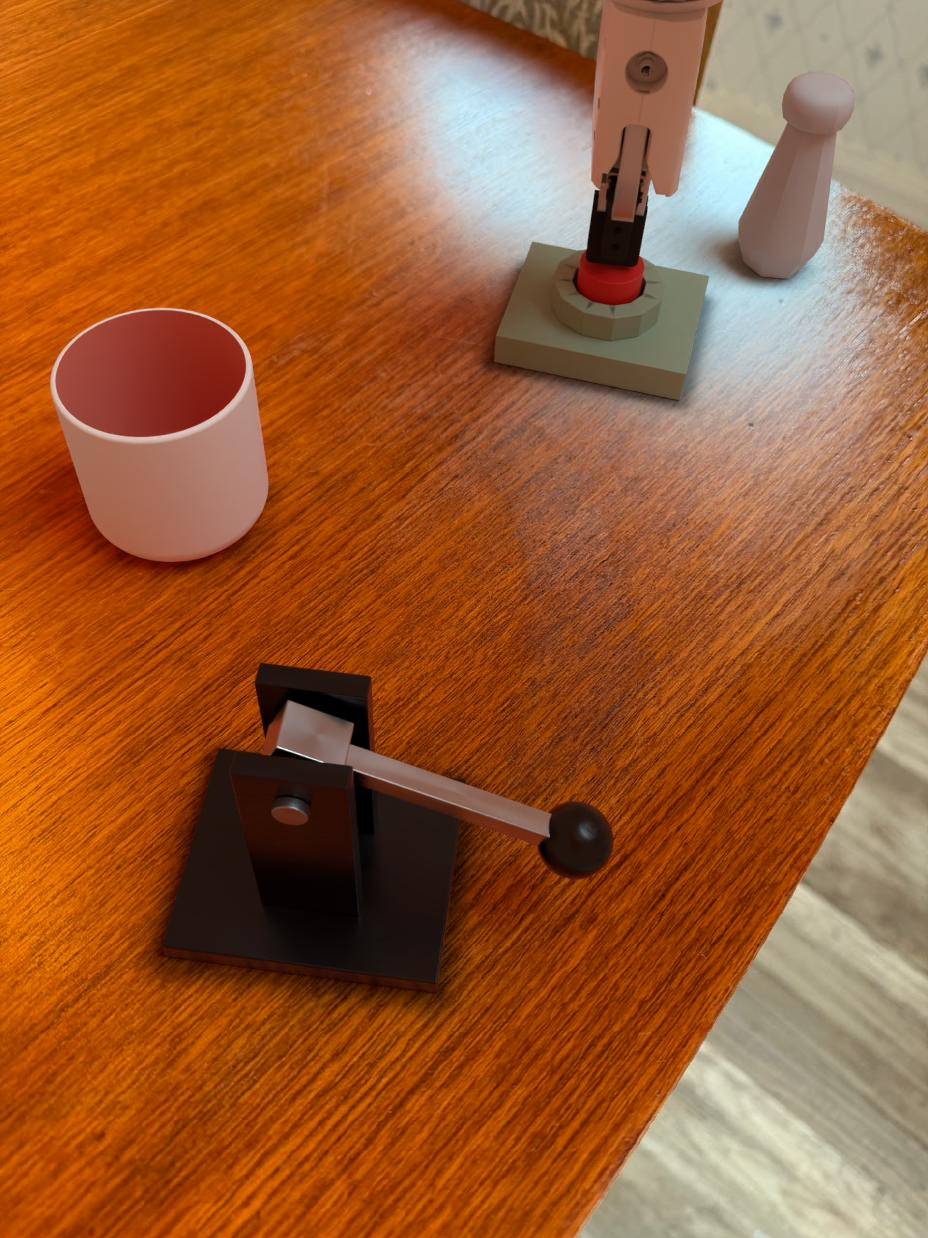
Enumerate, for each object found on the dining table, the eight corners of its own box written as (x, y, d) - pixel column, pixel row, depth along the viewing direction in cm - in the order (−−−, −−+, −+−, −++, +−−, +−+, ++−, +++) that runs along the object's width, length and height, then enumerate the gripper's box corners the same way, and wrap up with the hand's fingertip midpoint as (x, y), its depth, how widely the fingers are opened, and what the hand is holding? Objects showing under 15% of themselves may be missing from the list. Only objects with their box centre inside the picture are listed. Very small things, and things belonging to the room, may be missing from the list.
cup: (93, 584, 65) (48, 452, 57) (91, 452, 70) (49, 316, 62) (279, 560, 66) (261, 428, 58) (261, 433, 72) (243, 297, 64)
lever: (591, 831, 52) (630, 803, 50) (586, 899, 50) (626, 873, 48) (268, 719, 48) (293, 682, 46) (249, 789, 46) (275, 754, 44)
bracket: (465, 790, 58) (476, 635, 48) (437, 993, 52) (443, 866, 42) (221, 759, 58) (180, 599, 48) (165, 957, 53) (105, 822, 42)
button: (645, 273, 77) (649, 250, 75) (634, 312, 74) (638, 288, 73) (583, 261, 77) (587, 238, 76) (571, 299, 75) (574, 276, 73)
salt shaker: (722, 275, 82) (767, 96, 72) (738, 227, 86) (783, 50, 75) (807, 294, 82) (864, 116, 71) (820, 246, 85) (877, 68, 74)
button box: (702, 302, 81) (715, 252, 77) (679, 400, 75) (691, 351, 72) (529, 268, 82) (534, 217, 79) (493, 362, 76) (497, 311, 73)
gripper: (740, 30, 55) (669, 343, 69) (736, -113, 64) (674, 192, 78) (576, 13, 55) (540, 329, 70) (595, -126, 64) (560, 180, 79)
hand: (611, 256), depth 74 cm, fingers closed
